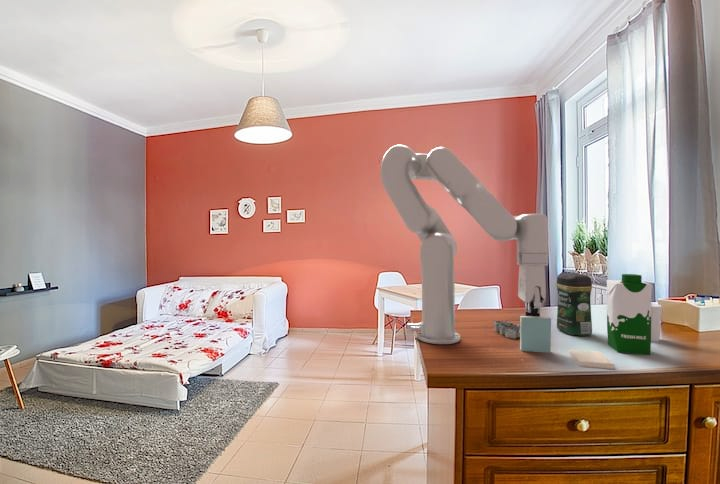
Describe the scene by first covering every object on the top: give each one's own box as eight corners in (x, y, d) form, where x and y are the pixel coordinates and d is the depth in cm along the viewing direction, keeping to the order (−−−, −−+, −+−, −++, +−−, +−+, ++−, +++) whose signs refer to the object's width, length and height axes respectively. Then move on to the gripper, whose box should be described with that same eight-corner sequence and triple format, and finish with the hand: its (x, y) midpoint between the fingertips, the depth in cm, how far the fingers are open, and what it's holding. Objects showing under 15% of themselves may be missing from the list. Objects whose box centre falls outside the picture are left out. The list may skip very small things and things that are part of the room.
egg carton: (530, 339, 103) (530, 325, 102) (506, 339, 102) (506, 326, 102) (513, 329, 113) (513, 317, 113) (491, 330, 112) (491, 318, 112)
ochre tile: (568, 355, 89) (578, 367, 80) (567, 349, 89) (578, 361, 80) (599, 357, 87) (613, 370, 78) (599, 351, 87) (613, 363, 78)
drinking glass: (662, 343, 96) (662, 307, 96) (632, 339, 100) (632, 305, 100) (660, 337, 101) (660, 303, 101) (631, 334, 105) (631, 301, 105)
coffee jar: (552, 328, 112) (551, 271, 112) (575, 328, 113) (575, 271, 113) (571, 337, 103) (571, 275, 103) (597, 336, 103) (597, 274, 103)
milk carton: (614, 353, 88) (614, 275, 88) (602, 342, 97) (602, 272, 97) (656, 356, 86) (656, 276, 85) (640, 345, 94) (640, 272, 94)
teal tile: (521, 350, 91) (521, 317, 91) (520, 348, 93) (520, 315, 92) (550, 352, 90) (550, 318, 89) (548, 350, 91) (549, 316, 90)
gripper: (511, 257, 102) (512, 320, 102) (523, 261, 87) (524, 333, 87) (539, 257, 100) (539, 321, 100) (556, 261, 85) (557, 335, 86)
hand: (532, 326), depth 94 cm, fingers closed
